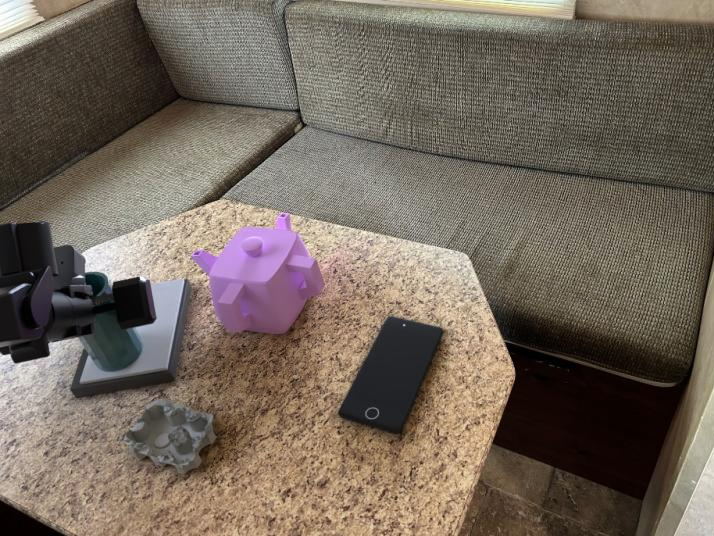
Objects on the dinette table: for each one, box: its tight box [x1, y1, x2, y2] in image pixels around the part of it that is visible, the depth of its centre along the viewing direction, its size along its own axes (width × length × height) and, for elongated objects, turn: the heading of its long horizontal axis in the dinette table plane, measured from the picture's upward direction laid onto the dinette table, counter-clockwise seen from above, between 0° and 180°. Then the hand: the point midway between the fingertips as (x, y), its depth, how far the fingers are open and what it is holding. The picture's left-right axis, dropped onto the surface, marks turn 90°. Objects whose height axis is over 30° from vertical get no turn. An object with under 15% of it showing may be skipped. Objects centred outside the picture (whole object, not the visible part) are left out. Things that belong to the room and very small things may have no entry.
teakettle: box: [190, 212, 326, 335], centre depth 94 cm, size 17×17×12 cm
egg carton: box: [116, 398, 217, 475], centre depth 77 cm, size 11×8×4 cm
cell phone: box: [337, 315, 444, 435], centre depth 84 cm, size 9×18×1 cm, turn 159°
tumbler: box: [77, 271, 143, 372], centre depth 84 cm, size 7×7×13 cm
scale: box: [69, 278, 192, 398], centre depth 93 cm, size 14×20×3 cm
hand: (101, 314), depth 85 cm, fingers open, 8 cm apart
